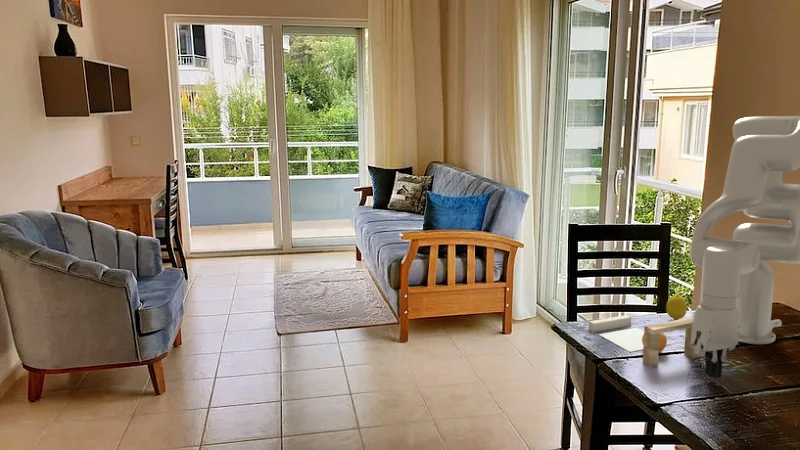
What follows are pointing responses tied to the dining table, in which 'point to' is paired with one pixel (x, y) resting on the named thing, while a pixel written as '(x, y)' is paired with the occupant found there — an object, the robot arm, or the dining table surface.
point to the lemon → (676, 307)
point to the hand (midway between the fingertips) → (713, 375)
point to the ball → (661, 341)
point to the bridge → (655, 329)
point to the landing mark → (627, 339)
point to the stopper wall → (609, 323)
